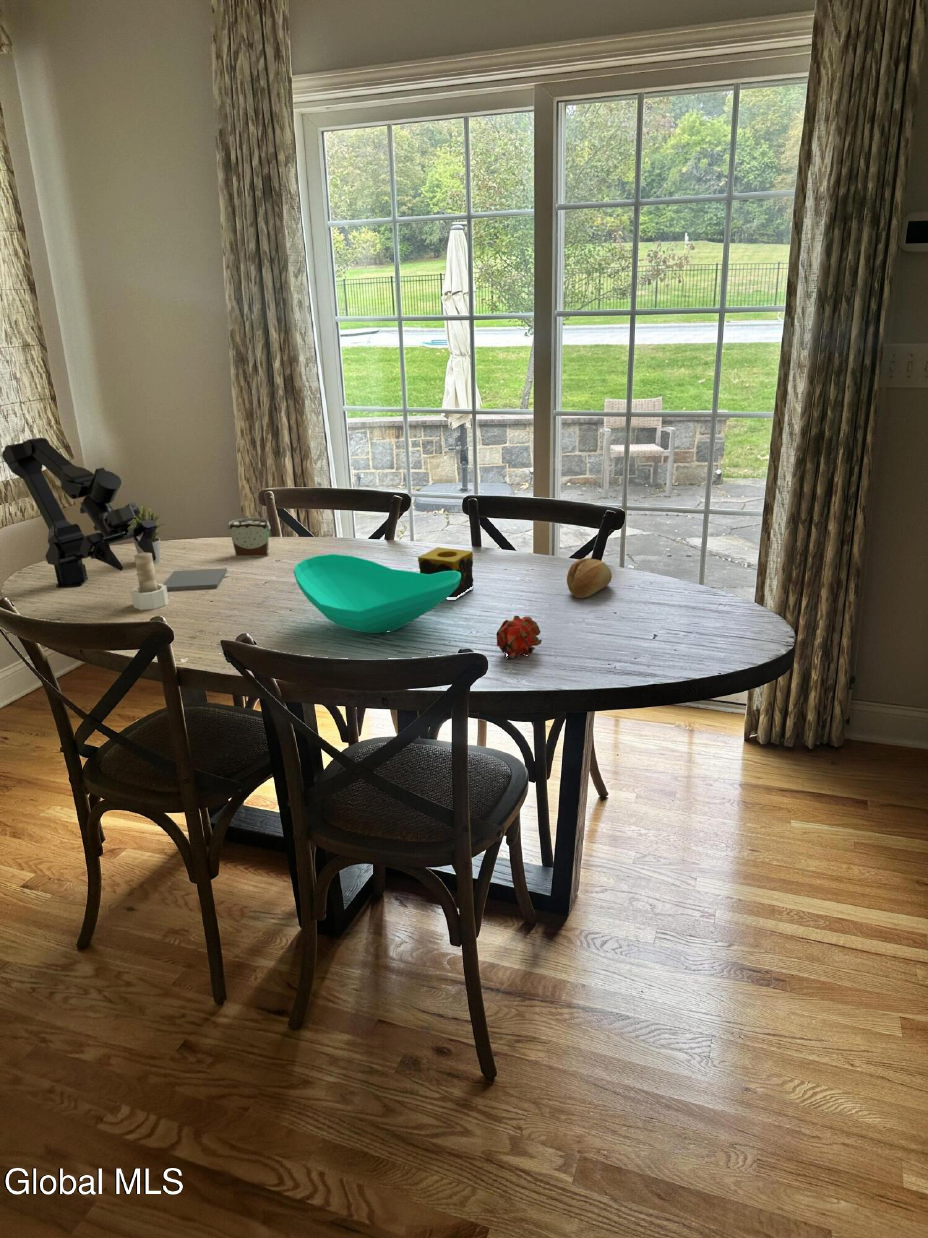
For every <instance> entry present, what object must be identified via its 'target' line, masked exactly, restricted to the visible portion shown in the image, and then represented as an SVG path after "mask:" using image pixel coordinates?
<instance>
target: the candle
mask: <svg viewBox="0 0 928 1238" xmlns="http://www.w3.org/2000/svg"><path fill="white" fill-rule="evenodd" d="M473 557H474V554H473V551H471V550H465V549H458V548H457V549H455V548H448V547H447V548H446V547H445V548H444V547H439V546H438V547H435V548H434V549H432V550H430V551H428V552H426V553H423V554H422V555H419V556H418V557H417V562H418V569H419V573H423V574H429V575H430V574H434V573H439V572H444V571H457V572H460V573H461V579H460V583H459V586H458V587H457V588H456V589H455V590H454V591H453V593H452V594H451V595H450V596H449V597H457V596H458V595H460V594H461V593H463V592H465V591H466V590H467V589H469V588H470V587H472V586H473V587H474V577H473V576H474V575H473V565H474V558H473Z"/></svg>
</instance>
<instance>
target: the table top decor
mask: <svg viewBox="0 0 928 1238" xmlns="http://www.w3.org/2000/svg"><path fill="white" fill-rule="evenodd" d="M293 574H294V575H293V576H294V577H295V582H296V583H297V585H298V588H299V590H300V591H301V592H302V594H303V595H304V596H305V598H306V599H307V601H308V602H310V603H311V604H312V605H313V606H314V607H315V608H316V609H317V610H318V611H319V612H320V613H321V614H322V615H323V616H324V617H326V619H328V620H329V621H330V622H332V623H334V624H335V625H337V626H339V627H341V628H345V629H348V630H351V631H356V632H361V633H367V634H381V633H380V632H387V631H392V632H394V630H395V631H397V630H400V629H401V628H403V627H404V626H406V625H407V624H410V623H411V622H413V621H414V620H417V619H418V618H419V617H422V616H423V615H425V614H426V613H428V612H430V611H432V609H434V608H435V607H437V606H439V605H440V604H442V603H443V602H444V601H446V600H445V599H446V598H447V597H449V596H450V595H451V594H452V593H453V591H454V590H455V589H456V588H457V587H458V586H459V583H460V579H461V573H460V572H457V571H444V572H439V573H434V574H430V575H429V574H423V573H420V572H417V571H410V570H403V569H402V570H401V569H393V568H390V567H388V566H385V565H383V564H380V563H378V562H374V561H372V560H368V559H365V558H360V557H357V556H353V555H344V554H338V553H337V554H336V553H335V554H334V553H332V554H331V553H329V554H322V555H316V556H312V557H308V558H305V559H303V560H302V561H299V562H298V563H297V564H296V565H295V566H294V570H293ZM387 633H388V632H387Z"/></svg>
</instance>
